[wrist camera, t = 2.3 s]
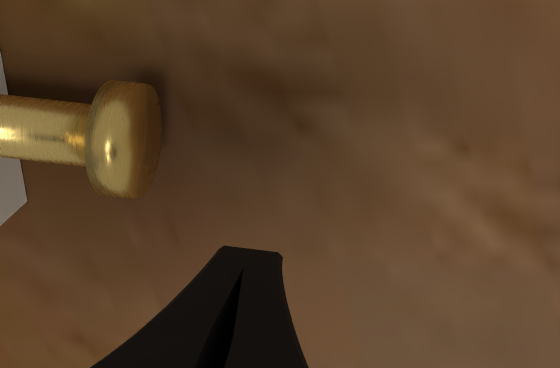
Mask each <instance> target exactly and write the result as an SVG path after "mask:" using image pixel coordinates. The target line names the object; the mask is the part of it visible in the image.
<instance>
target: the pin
mask: <svg viewBox="0 0 560 368" xmlns="http://www.w3.org/2000/svg"><path fill="white" fill-rule="evenodd" d="M161 135H162V120H161V109H160V103H159V99H158V96H157V93H156V91H155V89H154V88H153V87H152V86H151V85H150V84H144V83H135V82H125V81H116V80H110V81H107V82H105V83H104V84H103V85H102V86H101V88H100V89H99V90H98V92H97V94H96V96H95V98H94V100H93V102H92V104H85V103H76V102H67V101H58V100H49V99H40V98H30V97H21V96H12V95H3V94H0V157H5V158H14V159H22V160H31V161H39V162H48V163H56V164H65V165H73V166H82V167H86V170H87V175H88V178H89V181H90V183H91V185H92V187H93V189H94V190H95V191H96V192H97V193H99V194H101V195H107V196H116V197H124V198H132V199H139V198H141V197H143V196H144V195H145V193H146V192H147V191H148V189H149V187H150V185H151V183H152V181H153V178H154V175H155V172H156V168H157V164H158V159H159V154H160V147H161Z"/></svg>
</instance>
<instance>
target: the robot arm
mask: <svg viewBox="0 0 560 368" xmlns="http://www.w3.org/2000/svg"><path fill="white" fill-rule="evenodd" d="M282 261H283V257H282V256H281V255H280V254H279V253H278V252H271V251H263V250H255V249H247V248H239V247H231V246H223V247H221V248H220V249H219V250H218V251H217V252H216V253H215V255H214V256H213V257H212V258H211V259H210V261H209V262H208V263H207V264H206V265H205V267H204V268H203V269H202V270H201V271H200V272H199V273H198V274H197V275H196V277H195V278H194V279H193V280H192V281H191V282H190V283H189V284H188V285H187V286H186V287H185V288H184V289H183V290H182V291H181V292H180V293H179V294H178V295H177V296H176V297H175V298H174V299H173V300H172V301H171V302H170V303H169V304H168V305H167V306H166V307H165V308H164V309H163V310H162V311H161V312H159V313H158V314H157V315H156V316H155V317H154V318H153V319H152V320H151V321H149V322H148V323H147V324H146V325H145V326H144V327H143V328H142V329H140V330H139V331H138V332H137V333H136V334H134V335H133V336H132V337H131V338H130V339H128V340H127V341H126V342H124V343H123V344H122V345H121V346H119V347H118V348H117V349H115V350H114V351H113V352H111V353H110V354H109V355H107V356H106V357H105V358H103V359H102V360H100V361H99V362H97V363H96V364H95V365H93V366H92V367H90V368H309V367H308V365H307V363H306V360H305V357H304V355H303V352H302V350H301V347H300V344H299V341H298V338H297V335H296V332H295V329H294V326H293V323H292V319H291V315H290V311H289V308H288V304H287V300H286V295H285V290H284V284H283V276H282Z"/></svg>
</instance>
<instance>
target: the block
mask: <svg viewBox="0 0 560 368" xmlns="http://www.w3.org/2000/svg"><path fill="white" fill-rule="evenodd" d="M0 94H3V95H8V91H7V86H6V80H5V75H4V69H3V64H2V58H1V53H0ZM26 202H27V197H26V191H25V185H24V180H23V174H22V169H21V163H20V159H14V158H5V157H0V226H1V225H2V224H3V223H4V222H5V221H6V220H7V219H8V218H9V217H11V216H12V215H13V214H14V213H15V212H16V211H17V210H18V209H19V208H20V207H22V206H23V205H24V204H25V203H26Z"/></svg>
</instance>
